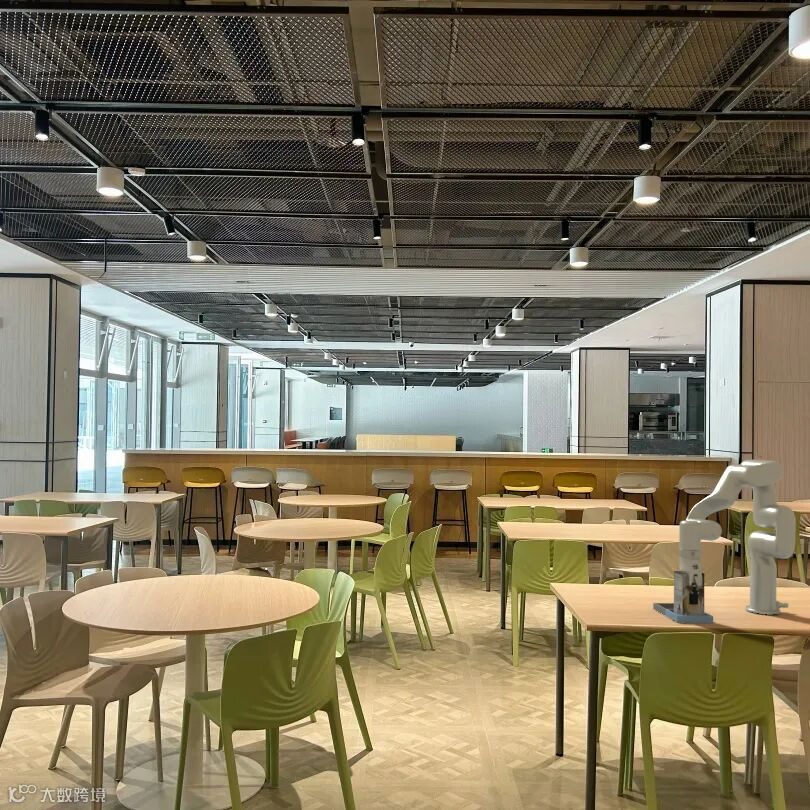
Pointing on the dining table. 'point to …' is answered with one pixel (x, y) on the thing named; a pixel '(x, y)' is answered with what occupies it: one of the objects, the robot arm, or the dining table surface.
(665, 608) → the bay tray
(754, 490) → the robot arm
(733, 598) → the dining table surface
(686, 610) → the coffee box
